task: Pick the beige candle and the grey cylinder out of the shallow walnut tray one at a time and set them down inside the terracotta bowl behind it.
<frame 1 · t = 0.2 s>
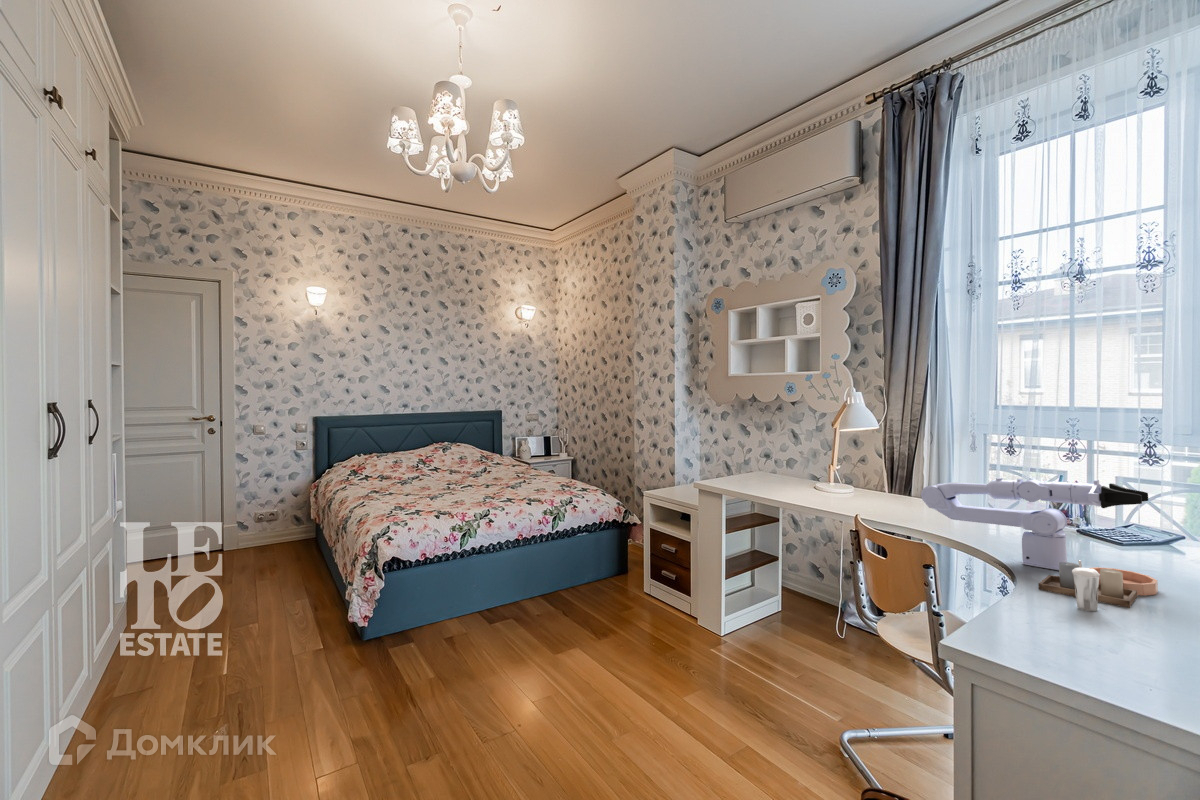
hand: (1144, 498, 131), 22 cm above the table, tool horizontal, fingers open, 7 cm apart
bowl: (1119, 585, 130), on the table
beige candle: (1112, 596, 122), resting on tray
tray: (1086, 593, 126), on the table
milkshake: (1086, 609, 117), on the table
grey cylinder: (1070, 588, 128), resting on tray
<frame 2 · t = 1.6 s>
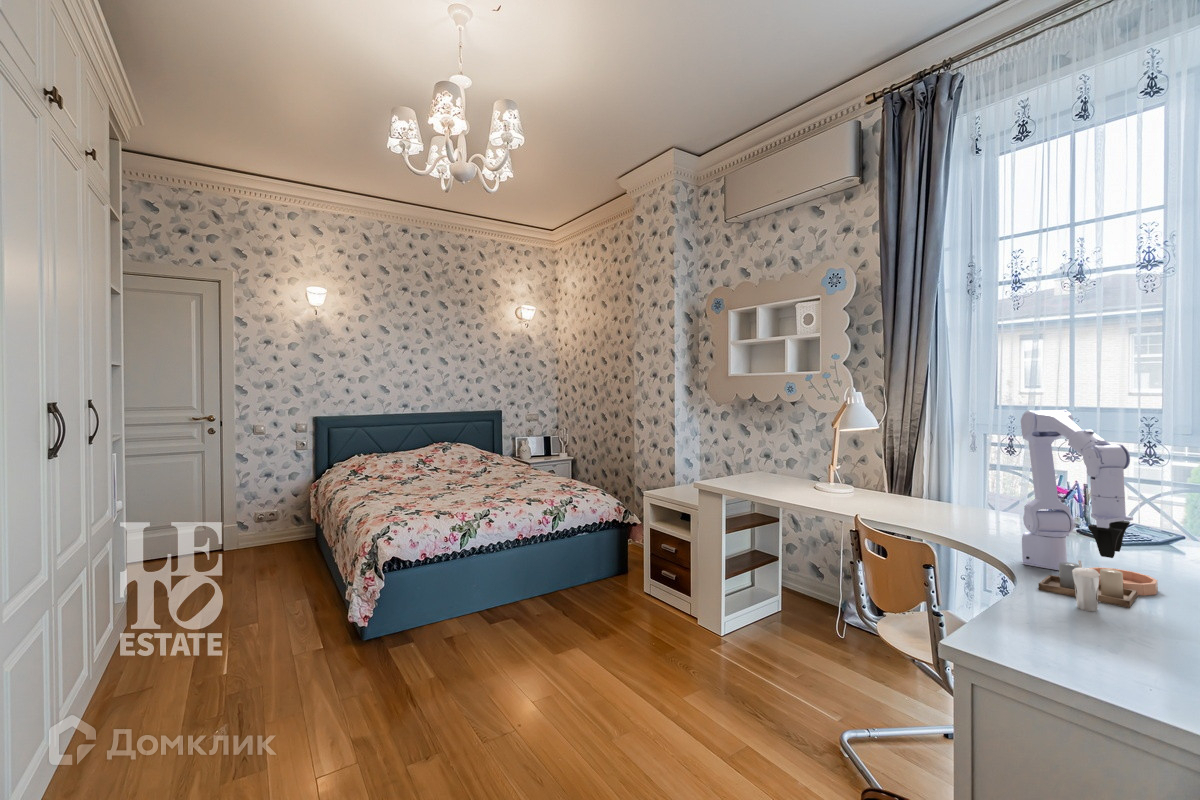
hand: (1110, 553, 123), 10 cm above the table, tool pointing down, fingers open, 7 cm apart
nothing on the table moved.
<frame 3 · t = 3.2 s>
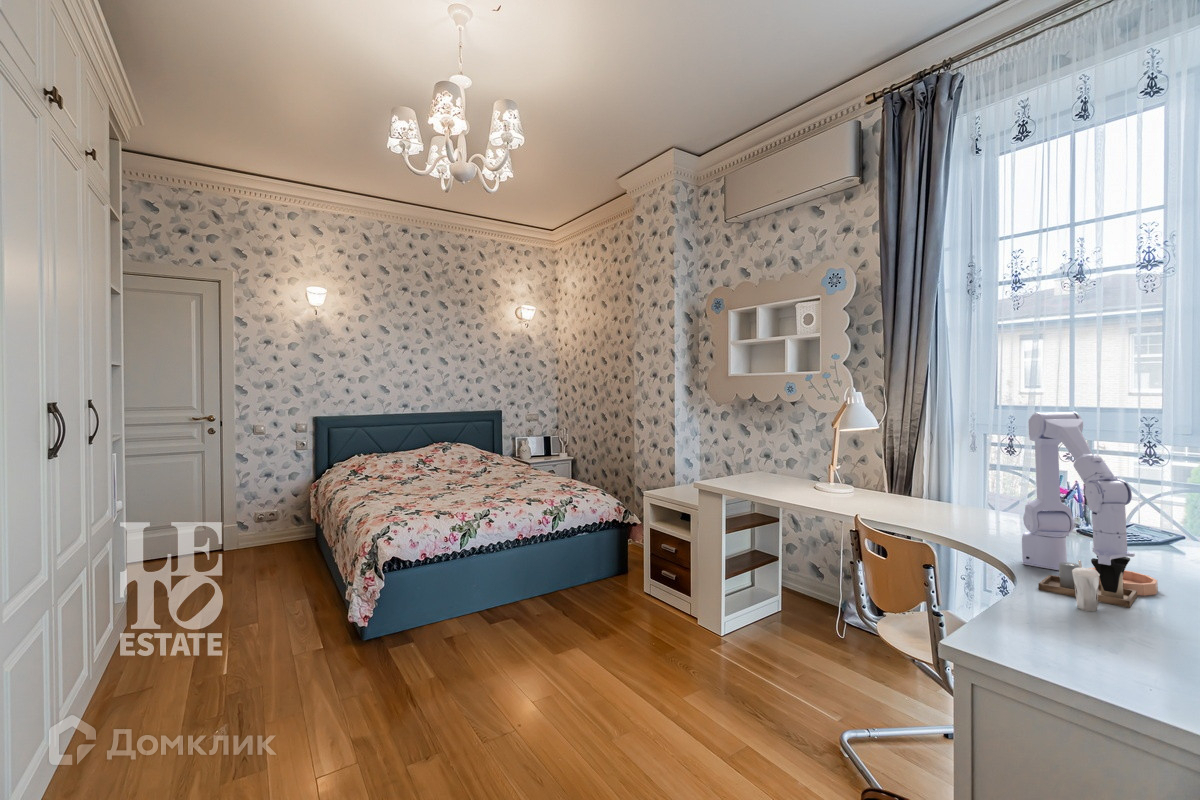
hand: (1112, 589, 122), 2 cm above the table, tool pointing down, fingers closed on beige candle, 4 cm apart
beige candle: (1112, 596, 122), resting on tray, touching gripper
everything else where it was.
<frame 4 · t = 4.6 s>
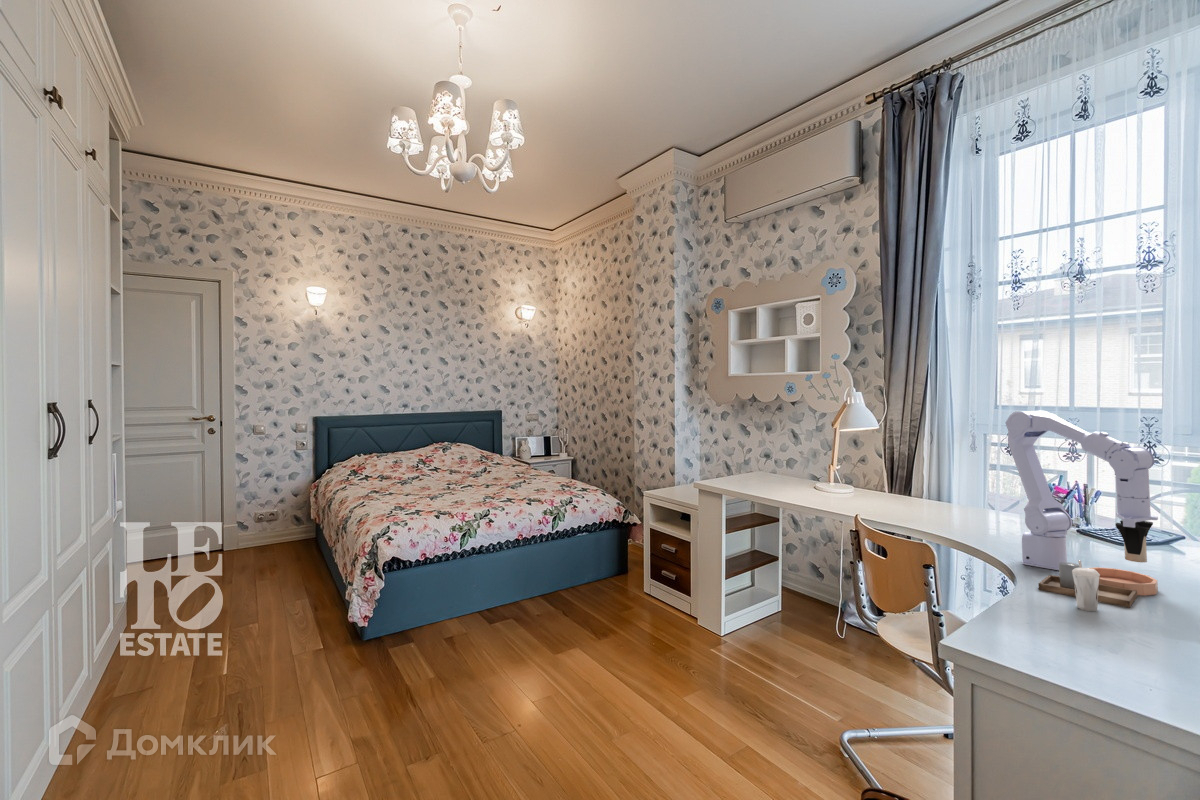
hand: (1135, 552, 128), 9 cm above the table, tool pointing down, fingers closed on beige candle, 4 cm apart
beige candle: (1135, 560, 128), point 7 cm above the table, touching gripper
everything else where it was.
when the fingers open (4 cm above the table, at t = 6.0 s): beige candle drops 1 cm, resting on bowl.
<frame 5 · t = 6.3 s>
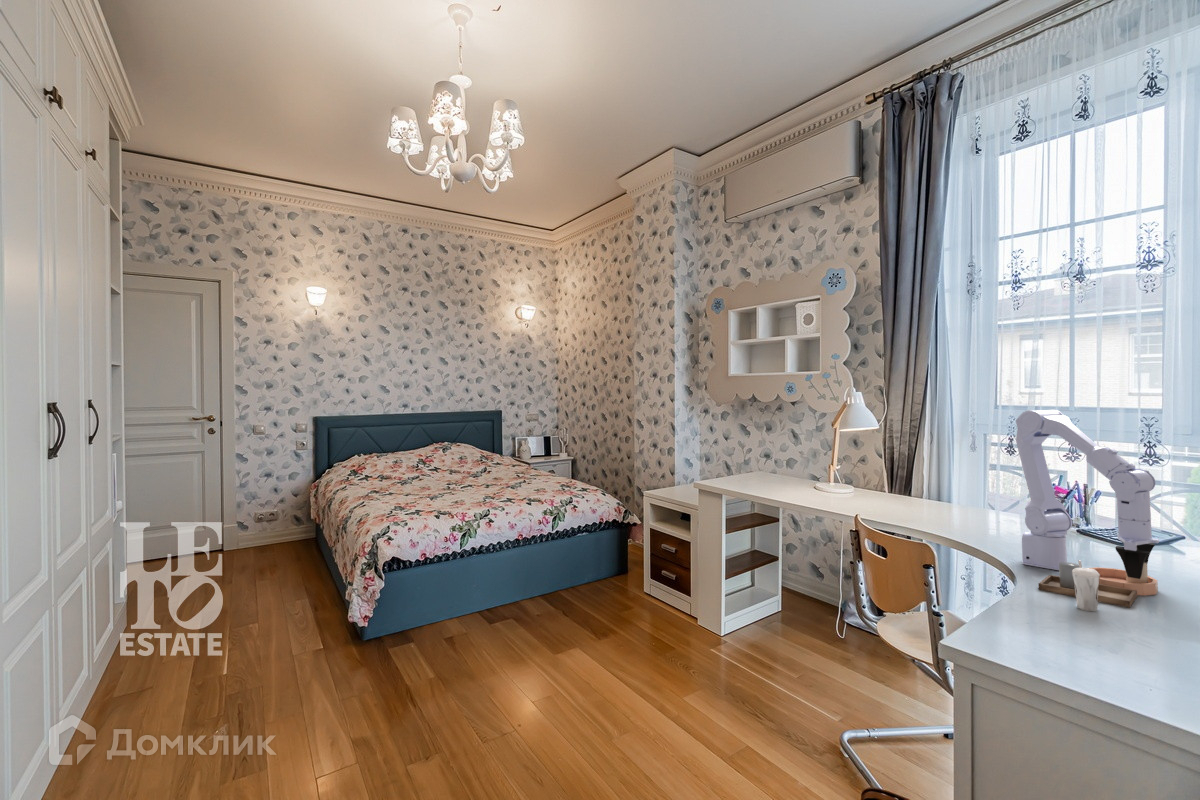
hand: (1136, 574, 128), 4 cm above the table, tool pointing down, fingers open, 7 cm apart
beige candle: (1137, 586, 128), point 1 cm above the table, touching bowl
everything else where it was.
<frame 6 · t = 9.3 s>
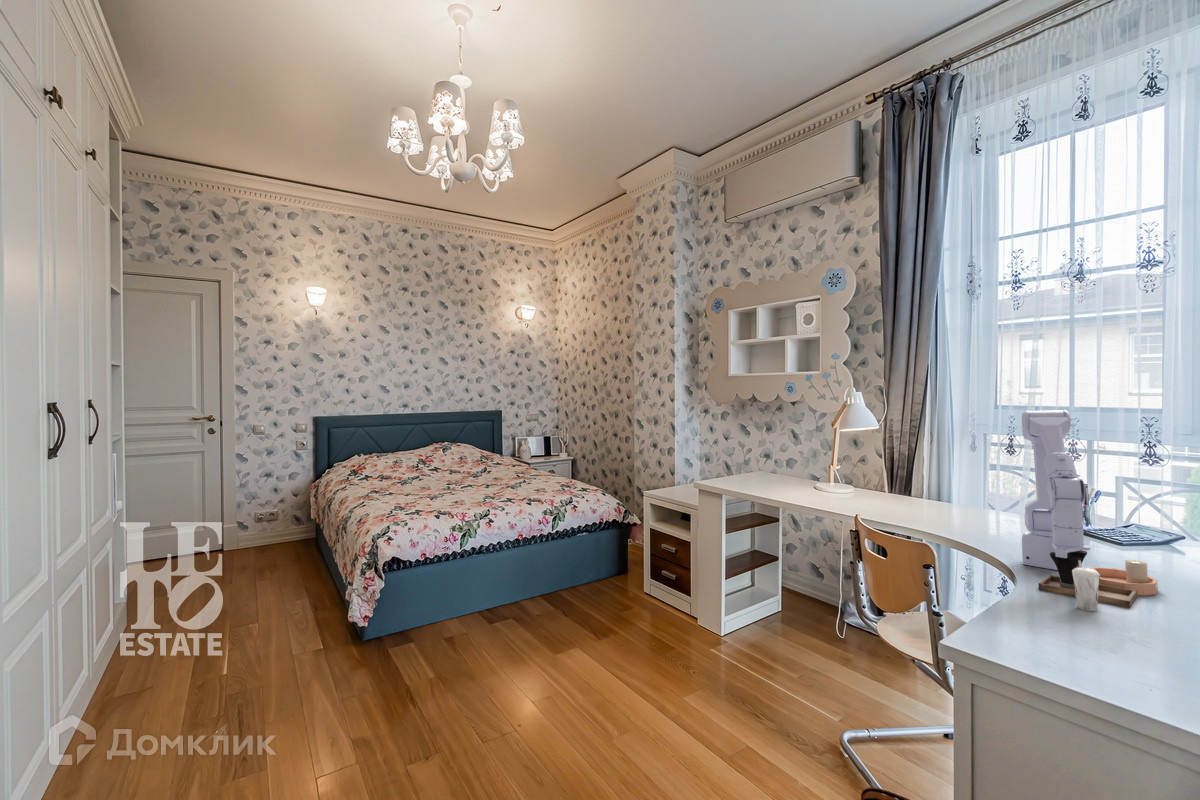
hand: (1069, 581, 128), 2 cm above the table, tool pointing down, fingers closed on grey cylinder, 4 cm apart
grey cylinder: (1070, 588, 128), resting on tray, touching gripper
everything else where it was.
when the fingers open (4 cm above the table, at t = 12.2 s): grey cylinder stays where it is, resting on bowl.
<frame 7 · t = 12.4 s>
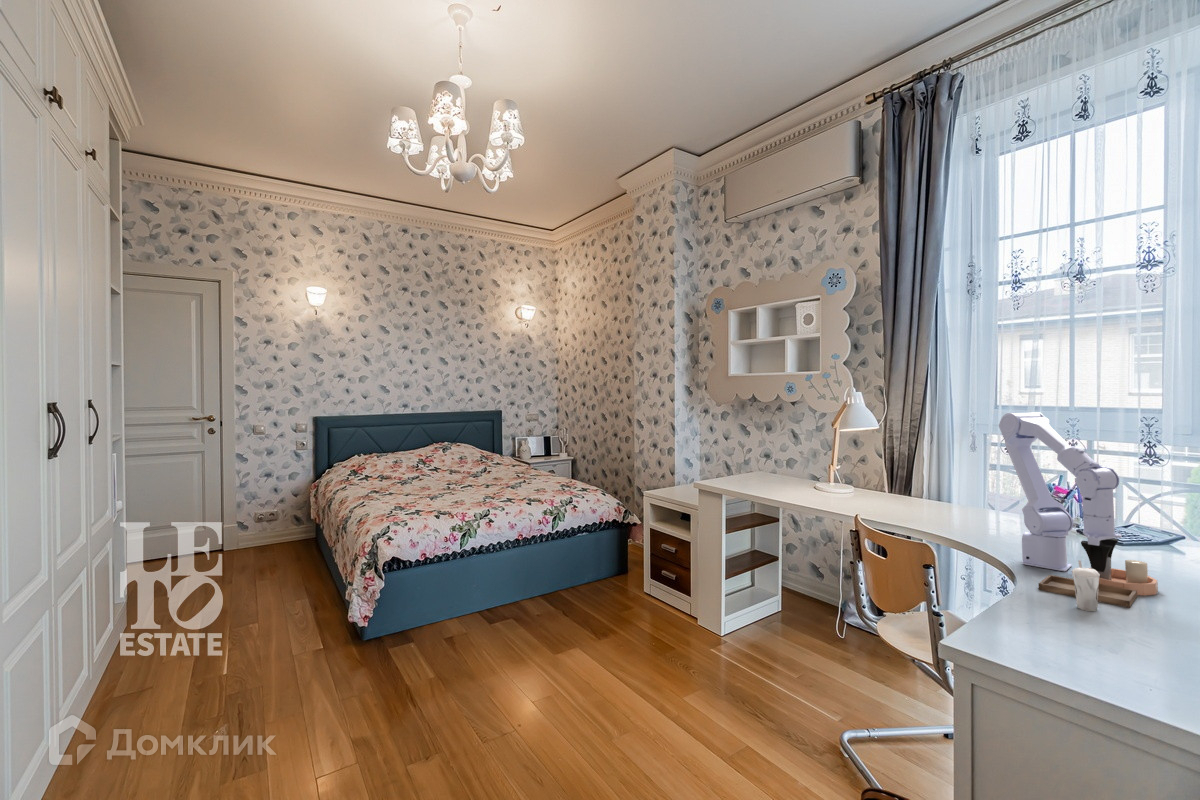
hand: (1100, 568, 133), 4 cm above the table, tool pointing down, fingers open, 5 cm apart
grey cylinder: (1101, 580, 133), point 1 cm above the table, touching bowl
everything else where it was.
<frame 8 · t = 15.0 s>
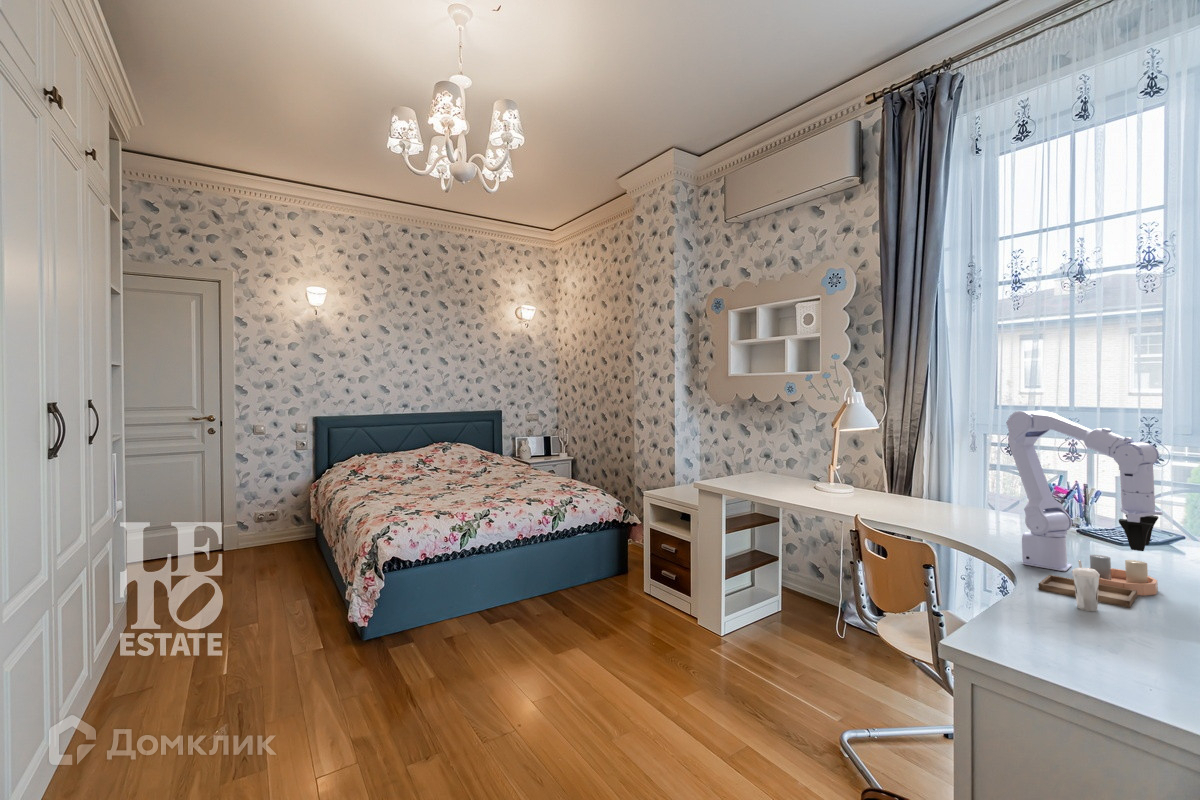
hand: (1140, 547, 127), 10 cm above the table, tool pointing down, fingers open, 7 cm apart
nothing on the table moved.
at the end: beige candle inside the target area on the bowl (3.2 cm from its centre), point 0.6 cm above the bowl's base; grey cylinder inside the target area on the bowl (3.3 cm from its centre), point 0.6 cm above the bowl's base; the gripper is holding nothing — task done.
